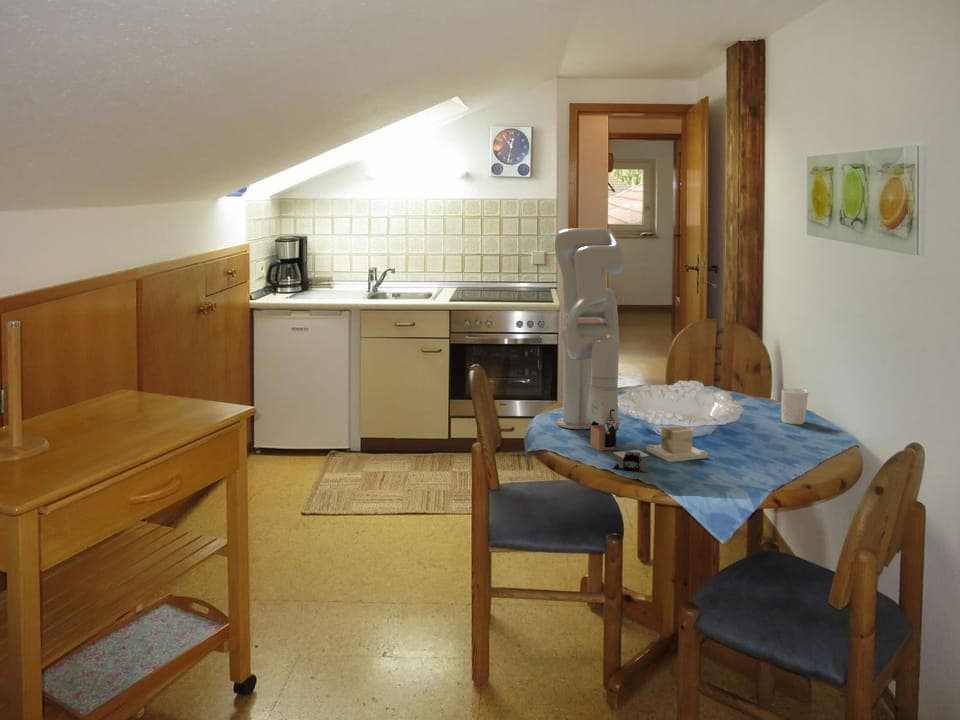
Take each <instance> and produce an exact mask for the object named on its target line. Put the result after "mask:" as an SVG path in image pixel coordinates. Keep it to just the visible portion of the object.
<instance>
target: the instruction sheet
mask: <svg viewBox="0 0 960 720" xmlns="http://www.w3.org/2000/svg"><path fill="white" fill-rule="evenodd" d="M626 452H637V453H640V456H641V458H645V457H649V456H650V455H649V454H648V453H646V452H643V451H641V450H640V449H631V450H621V451H613V452H612V454H614V455H615V456H617V457H620V458H621V459H623V458H624V456H625V453H626Z"/></svg>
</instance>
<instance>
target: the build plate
mask: <svg viewBox="0 0 960 720" xmlns="http://www.w3.org/2000/svg"><path fill="white" fill-rule="evenodd" d="M645 447H646V448H645V450H646V452H648V453H651V454H652V455H654V456H656V457H658V458H660V459H662V460H664V461H666V462H667V463H668V462H669V463H673V462H674V463H675V462H684V461H690V460H692V461H693V460H698V459H699V460H700V459H707V458H708V453H707V452H706V450H703V449H702V450H701V449H699V448H696V447H694V446H692V452H684V453H675V454H672V453H670V452H668V451H666V450H664V449H662V448H661V444H656V445H655V444H648V445H647V446H645Z"/></svg>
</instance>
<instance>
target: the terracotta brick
mask: <svg viewBox="0 0 960 720" xmlns="http://www.w3.org/2000/svg"><path fill="white" fill-rule="evenodd" d="M608 426H609V429H610V427H611V426H612V425H608ZM605 433H606V429H605V425H600V424H599V425H594V426H591V439H590V438H589V441H590V444H589V445H590V447H591V448H593V449H594V450H596V451H599V452H600V451H607V450H608V451H610V450H615V447H616V446H615V447H609V448H606V447H605Z"/></svg>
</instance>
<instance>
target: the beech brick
mask: <svg viewBox="0 0 960 720" xmlns="http://www.w3.org/2000/svg"><path fill="white" fill-rule="evenodd" d="M693 432H694V431H693V429H691V428H688V427H686V426H683V425H679V424H678V425H668V426H661V439H660V440H661V441H660V442H661V443H660V445H661V448H662V449H664V450H666V451H668V452H670V453H672V454H675V453H684V452H692V447H693V434H694V433H693Z"/></svg>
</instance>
